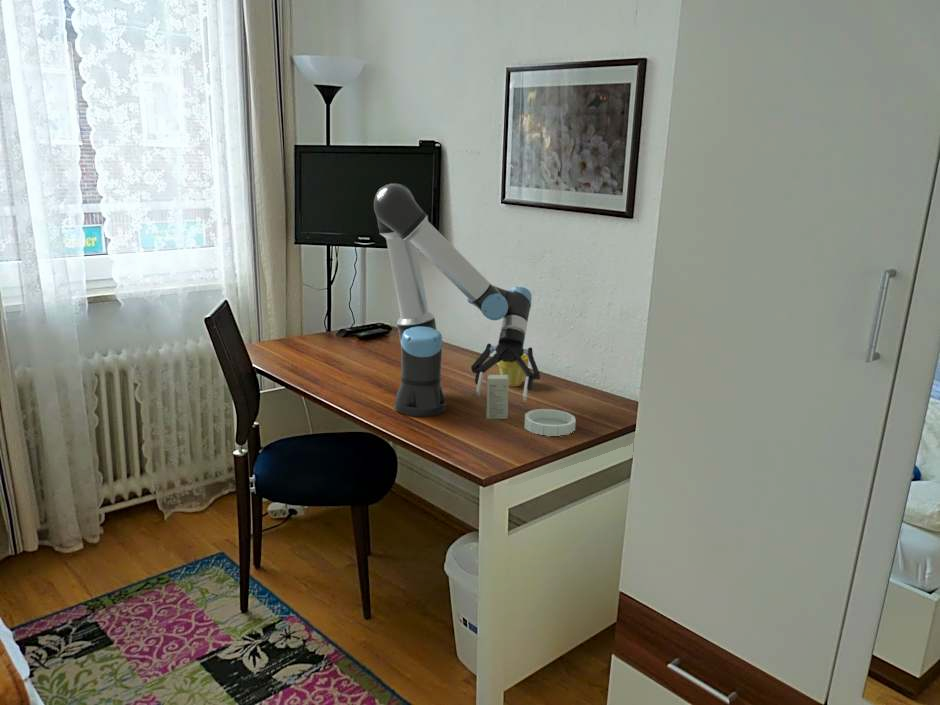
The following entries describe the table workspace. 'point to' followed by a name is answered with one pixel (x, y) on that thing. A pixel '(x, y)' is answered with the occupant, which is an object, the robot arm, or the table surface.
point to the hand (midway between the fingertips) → (500, 396)
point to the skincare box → (497, 397)
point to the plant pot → (513, 371)
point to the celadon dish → (549, 422)
